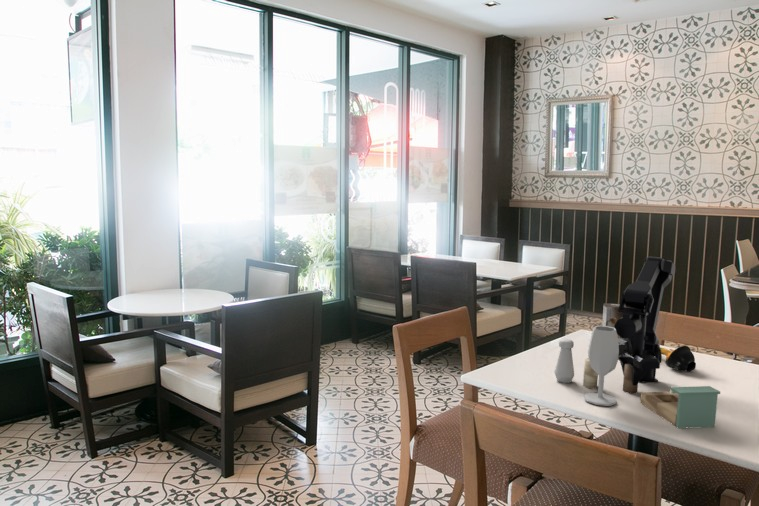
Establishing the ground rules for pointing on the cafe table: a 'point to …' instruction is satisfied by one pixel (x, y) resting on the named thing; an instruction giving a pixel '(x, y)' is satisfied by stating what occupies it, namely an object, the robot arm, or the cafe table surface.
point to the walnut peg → (628, 380)
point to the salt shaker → (565, 362)
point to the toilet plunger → (680, 358)
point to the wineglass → (602, 361)
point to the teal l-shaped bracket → (696, 406)
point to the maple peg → (589, 376)
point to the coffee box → (611, 315)
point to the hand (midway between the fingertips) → (630, 382)
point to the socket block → (661, 404)
